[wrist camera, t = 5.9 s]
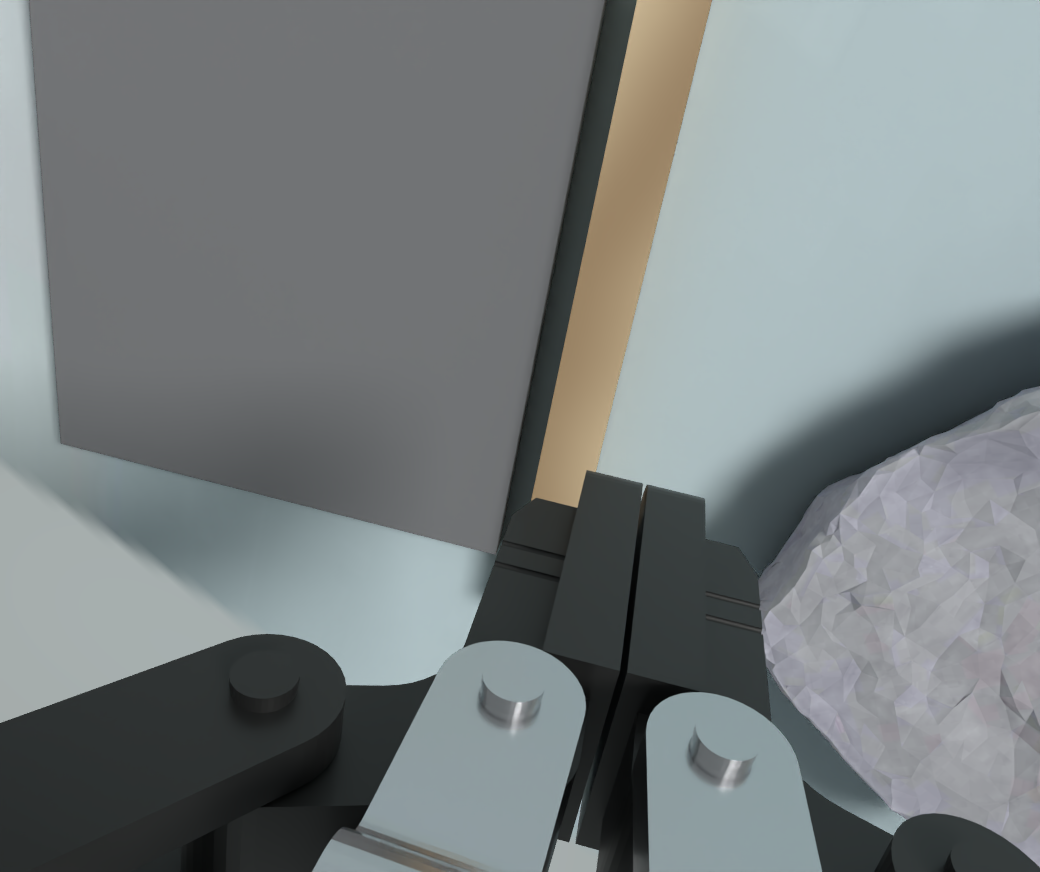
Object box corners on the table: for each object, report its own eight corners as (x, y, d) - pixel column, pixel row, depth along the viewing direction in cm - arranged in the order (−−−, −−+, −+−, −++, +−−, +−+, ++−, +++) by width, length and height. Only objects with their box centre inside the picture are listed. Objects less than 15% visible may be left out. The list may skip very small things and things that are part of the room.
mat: (608, -8, 16) (605, -8, 16) (499, 543, 22) (495, 554, 21) (37, -122, 17) (20, -125, 17) (73, 434, 23) (60, 443, 22)
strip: (724, -52, 15) (725, -56, 14) (564, 595, 22) (557, 625, 21) (655, -65, 16) (651, -69, 15) (517, 583, 22) (507, 612, 21)
